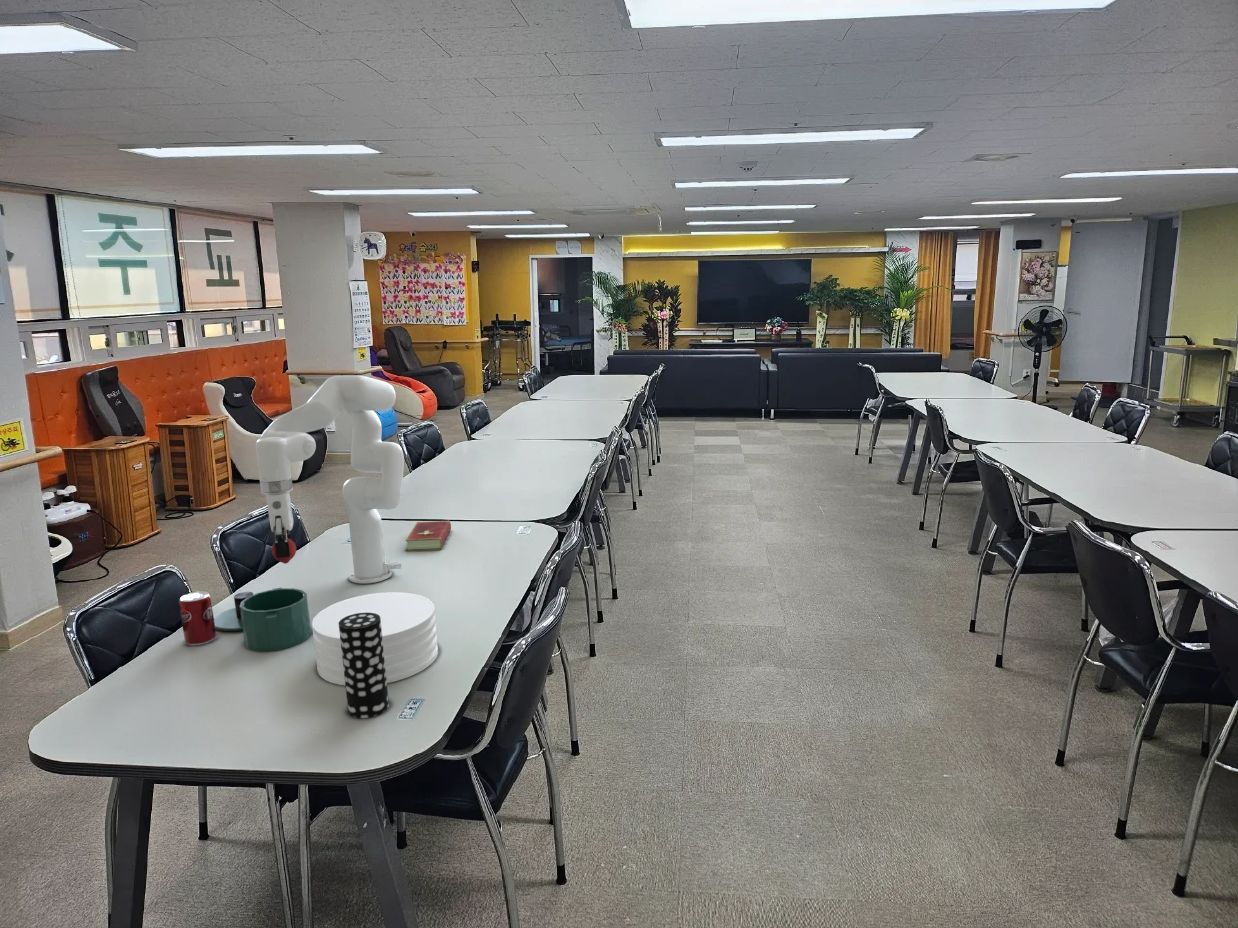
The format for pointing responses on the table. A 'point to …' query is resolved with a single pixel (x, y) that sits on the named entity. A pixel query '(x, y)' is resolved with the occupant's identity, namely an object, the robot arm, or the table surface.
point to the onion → (291, 547)
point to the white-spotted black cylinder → (364, 664)
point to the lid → (232, 615)
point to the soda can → (197, 618)
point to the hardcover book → (428, 535)
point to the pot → (275, 619)
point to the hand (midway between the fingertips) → (284, 552)
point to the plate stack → (402, 634)
